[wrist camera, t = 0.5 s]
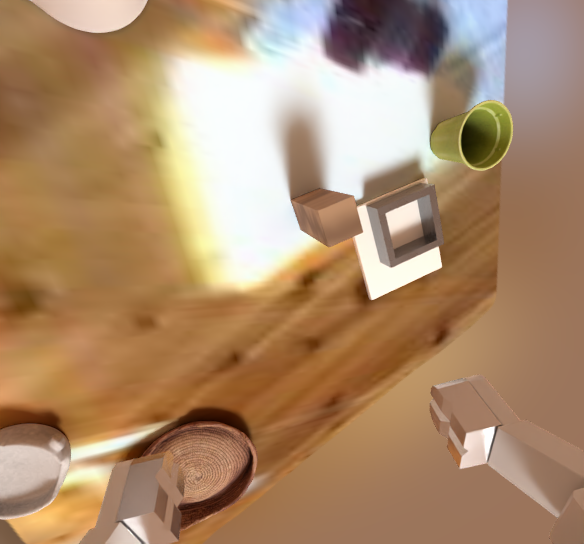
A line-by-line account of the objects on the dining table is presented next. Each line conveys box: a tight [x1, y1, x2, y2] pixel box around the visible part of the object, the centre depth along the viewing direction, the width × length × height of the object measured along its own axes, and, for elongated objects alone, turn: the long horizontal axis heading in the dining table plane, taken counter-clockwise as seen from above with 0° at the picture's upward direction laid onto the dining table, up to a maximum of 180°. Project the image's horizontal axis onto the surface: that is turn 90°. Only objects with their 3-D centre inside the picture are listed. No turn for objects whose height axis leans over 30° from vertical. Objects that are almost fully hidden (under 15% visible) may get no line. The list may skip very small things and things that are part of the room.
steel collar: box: [366, 183, 444, 268], centre depth 56 cm, size 10×10×4 cm
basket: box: [141, 421, 257, 531], centre depth 60 cm, size 22×20×5 cm
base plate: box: [352, 178, 442, 300], centre depth 59 cm, size 17×15×1 cm
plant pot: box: [430, 100, 513, 170], centre depth 53 cm, size 9×9×9 cm
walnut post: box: [291, 188, 363, 247], centre depth 48 cm, size 5×5×12 cm
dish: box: [0, 423, 71, 519], centre depth 51 cm, size 14×14×5 cm
